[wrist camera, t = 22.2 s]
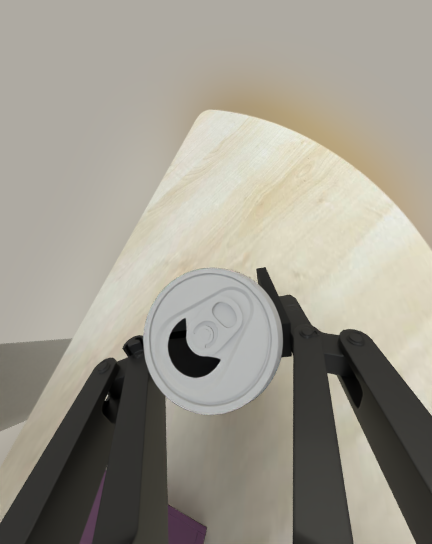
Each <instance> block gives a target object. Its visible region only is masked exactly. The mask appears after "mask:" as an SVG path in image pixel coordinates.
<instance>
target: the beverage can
mask: <svg viewBox="0 0 432 544" xmlns="http://www.w3.org/2000/svg"><path fill="white" fill-rule="evenodd" d="M183 330H187V333H186V337H185V338H177V339H169V337H170V334H171V332H176V331H183ZM143 344H144V354H145V360H146V364H147V367H148V370H149V372H150V374H151V377H152V378H153V380H154V382H155V384H156V385H157V387H158V388H159V389H160V390H161V392H162V393H163V394H164V395H165V396H166V397H167V398H168V399H169V400H171V401H172V402H173V403H174V404H176V405H178V406H179V407H181V408H183V409H185V410H188V411H191V412H194V413H197V414H204V415H218V414H224V413H228V412H231V411H234V410H237V409H239V408H241V407H242V406H244V405H246V404H247V403H249V402H251V401H252V400H254V399H255V398H257V397H258V396H259V395H260V394H261V393H262V392H263V391H264V390H265V389H266V388H267V386H268V385H269V383H270V382H271V380H272V379H273V377H274V375H275V373H276V371H277V369H278V366H279V363H280V360H281V355H282V349H283V332H282V325H281V321H280V318H279V314H278V312H277V309H276V307H275V305H274V303H273V301H272V300H271V298H270V297H269V295H268V294H267V293H266V292H265V291H264V289H263V288H262V287H261V286H260V285H259V284H257V283H256V282H255V281H253V280H252V279H251V278H249V277H247V276H245V275H243V274H241V273H239V272H236V271H233V270H228V269H221V268H202V269H197V270H193V271H190V272H187V273H185V274H183V275H181V276H179V277H177V278H176V279H174V280H173V281H172V282H170V283H169V284H168V285H167V286H166V287H165V288H164V289H163V290H162V291H161V292H160V294H159V295H158V296H157V298H156V299H155V301H154V303H153V304H152V306H151V308H150V311H149V313H148V316H147V319H146V323H145V327H144V335H143Z"/></svg>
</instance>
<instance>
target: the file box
mask: <svg viewBox="0 0 432 544" xmlns="http://www.w3.org/2000/svg"><path fill="white" fill-rule="evenodd" d="M105 474H106V470H105V473H104V476H103V478H102V481H101V484H100V487H99V490H98V492H97V495H96V498H95V501H94V504H93V507H92V509H91V512H90V515H89V518H88V521H87V524H86V526H85V529H84V532H83V535H82V538H81V541H80V543H79V544H92V540H93V535H94V530H95V525H96V520H97V515H98V510H99V505H100V500H101V495H102V490H103V484H104V479H105ZM206 529H207V528H206V527H205V526H203V525H202V524H200V523H198V522H196V521H195V520H193V519H191V518H190V517H188V516H186V515H185V514H183V513H181V512H179V511H178V510H176V509H174V508H173V507H171V506H169V505H168V540H169V544H204V539H205V534H206Z"/></svg>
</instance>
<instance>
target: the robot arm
mask: <svg viewBox="0 0 432 544" xmlns="http://www.w3.org/2000/svg"><path fill="white" fill-rule="evenodd" d="M256 270H257V278H258V284H259V285H260V286H261V287H262V288H263V289H264V291H265V292H266V293H267V294H268V295H269V297H270V298H271V300H272V301H273V303H274V305H275V307H276V309H277V312H278V314H279V318H280V321H281V325H282V332H283V349H282V355H281V357H290V356H292V353H293V356H294V363H293V544H353V537H352V531H351V524H350V518H349V511H348V505H347V499H346V492H345V486H344V479H343V473H342V466H341V460H340V453H339V447H338V440H337V434H336V427H335V421H334V415H333V408H332V402H331V395H330V389H329V382H328V376H327V373H330V374H335V375H337V377H338V379H339V381H340V383H341V385H342V387H343V390H344V392H345V394H346V396H347V398H348V400H349V402H350V404H351V406H352V409H353V411H354V413H355V415H356V417H357V419H358V421H359V423H360V425H361V428H362V430H363V432H364V434H365V436H366V438H367V440H368V442H369V444H370V447H371V449H372V451H373V453H374V455H375V457H376V459H377V461H378V463H379V466H380V468H381V470H382V472H383V474H384V476H385V478H386V480H387V482H388V485H389V487H390V489H391V491H392V493H393V495H394V497H395V499H396V501H397V504H398V506H399V508H400V510H401V512H402V514H403V516H404V518H405V520H406V523H407V525H408V527H409V529H410V531H411V533H412V535H413V537H414V540H415V542H416V544H432V416H431V414H430V413H429V412H428V410H427V409H426V408H425V407H424V405H423V404H422V403H421V402H420V400H419V399H418V398H417V396H416V395H415V394H414V393H413V391H412V390H411V389H410V388H409V386H408V385H407V384H406V382H405V381H404V380H403V379H402V377H401V376H400V375H399V374H398V372H397V371H396V370H395V368H394V367H393V366H392V365H391V363H390V362H389V361H388V360H387V358H386V357H385V356H384V354H383V353H382V352H381V351H380V349H379V348H378V347H377V346H376V344H375V343H374V342H373V340H372V339H371V338H370V337H369V336H368V335H366V334H365V333H363V332H361V331H357V330H353V329H347V330H343V331H342V332H340V335H333V334H327V333H323V332H320V331H319V330H318V329H317V328H315V327H313V326H312V325H311V323H310V322H309V320H308V318H307V317H306V315H305V313H304V312H303V310H302V309H301V307H300V305H299V303H298V302H297V300H296V298H294V297H293V296H291V295H285V296H278V294H277V292H276V290H275V287H274V285H273V283H272V281H271V279H270V276H269V274H268V272H267V270H266V268H265V267H264V268H258V269H256ZM186 333H187V330H183V331H176V332H171V334H170V337H169V339H177V338H185V337H186ZM122 349H123V350H124V351H125V353H126V354H127V356H128V358H125V359H123V360H120V361H118V362H117V361H116V360H115V359H114V358H108V359H105V360H103V361H102V362H100V363H99V364H98V365H97V366H96V367H95V369H94V370H93V372H92V373H91V375H90V376H89V378H88V380H87V381H86V383H85V385H84V386H83V388H82V390H81V391H80V393H79V395H78V396H77V398H76V400H75V401H74V403H73V404H72V406H71V408H70V409H69V411H68V413H67V414H66V416H65V418H64V419H63V421H62V423H61V424H60V426H59V428H58V429H57V431H56V433H55V434H54V436H53V437H52V439H51V441H50V442H49V444H48V446H47V447H46V449H45V451H44V452H43V454H42V456H41V457H40V459H39V461H38V462H37V464H36V466H35V467H34V469H33V470H32V472H31V474H30V475H29V477H28V479H27V480H26V482H25V484H24V485H23V487H22V489H21V490H20V492H19V494H18V495H17V497H16V499H15V500H14V502H13V503H12V505H11V507H10V508H9V510H8V512H7V513H6V515H5V517H4V518H3V520H2V522H1V523H0V544H79V543H80V541H81V538H82V535H83V532H84V529H85V526H86V524H87V521H88V518H89V515H90V512H91V509H92V507H93V504H94V501H95V498H96V495H97V492H98V490H99V487H100V484H101V481H102V478H103V476H104V473H105V470H106V474H105V479H104V484H103V490H102V495H101V500H100V505H99V510H98V515H97V520H96V525H95V530H94V535H93V540H92V544H169V540H168V496H167V450H166V404H165V395H164V394H163V393H162V392H161V390H160V389H159V388H158V387H157V385H156V384H155V382H154V380H153V378H152V377H151V374H150V372H149V370H148V367H147V364H146V360H145V354H144V344H143V336H141V335H138V336H135V337H133V338H131V339H129V340H128V341H127V342H126V343H125V344H124V346H123V348H122ZM107 394H108V398H107V399H106V401H105V398H106V396H107ZM106 467H107V469H106Z"/></svg>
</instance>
